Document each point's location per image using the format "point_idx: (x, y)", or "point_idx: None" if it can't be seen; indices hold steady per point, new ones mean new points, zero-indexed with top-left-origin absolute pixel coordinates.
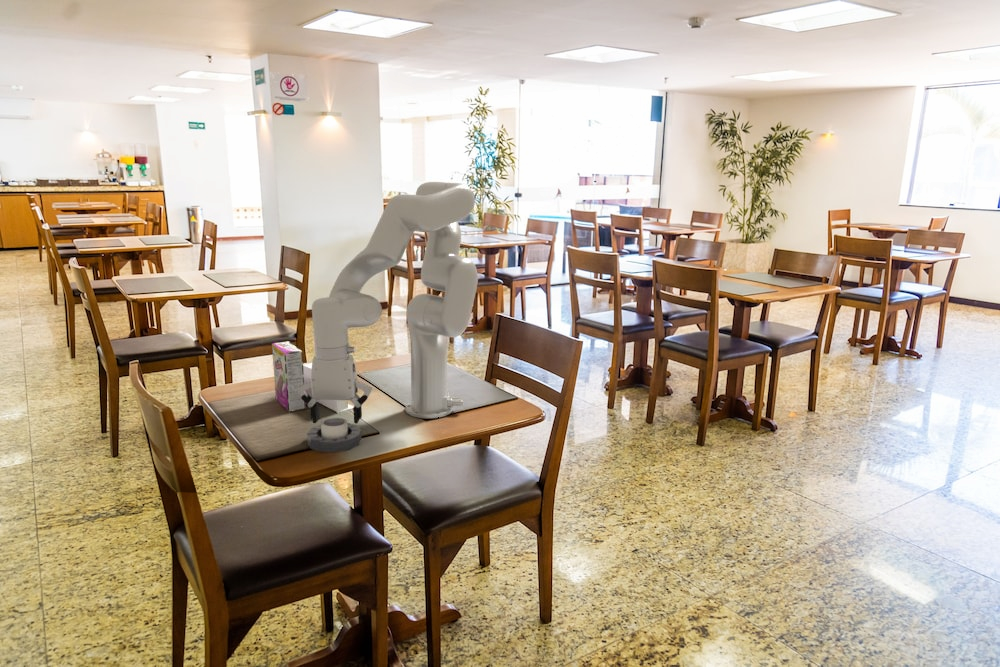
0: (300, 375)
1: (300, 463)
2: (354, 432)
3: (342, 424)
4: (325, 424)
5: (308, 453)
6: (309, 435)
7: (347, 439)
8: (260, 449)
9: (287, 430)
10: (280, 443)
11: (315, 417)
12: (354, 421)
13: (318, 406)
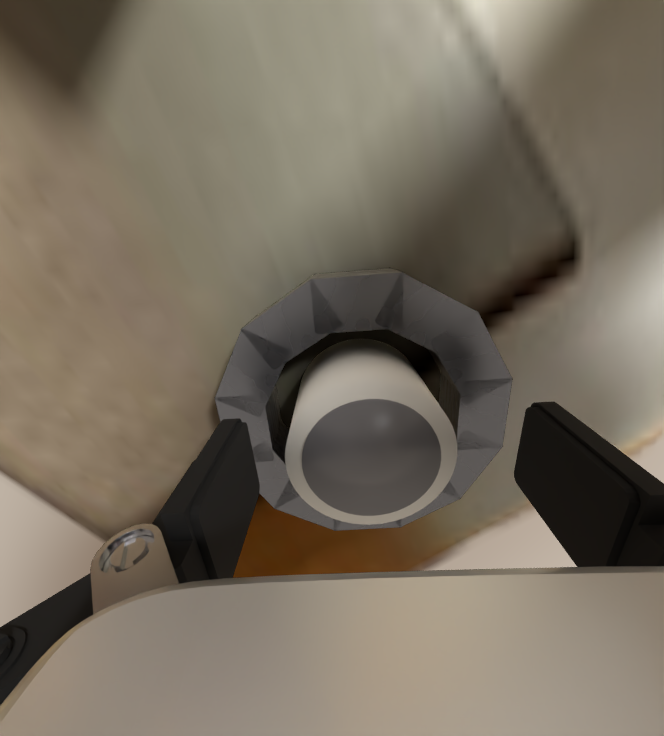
0: None
1: (295, 568)
2: (476, 417)
3: (432, 483)
4: (329, 506)
5: None
6: None
7: (453, 497)
8: (88, 495)
9: (53, 288)
10: (126, 438)
11: (249, 522)
12: (523, 486)
13: (210, 488)
